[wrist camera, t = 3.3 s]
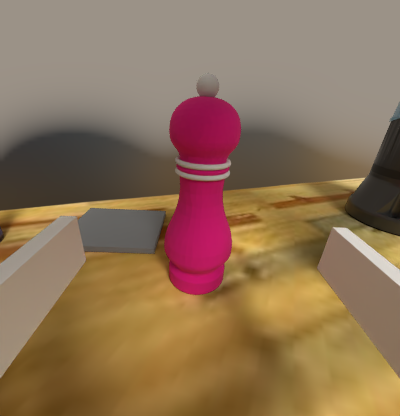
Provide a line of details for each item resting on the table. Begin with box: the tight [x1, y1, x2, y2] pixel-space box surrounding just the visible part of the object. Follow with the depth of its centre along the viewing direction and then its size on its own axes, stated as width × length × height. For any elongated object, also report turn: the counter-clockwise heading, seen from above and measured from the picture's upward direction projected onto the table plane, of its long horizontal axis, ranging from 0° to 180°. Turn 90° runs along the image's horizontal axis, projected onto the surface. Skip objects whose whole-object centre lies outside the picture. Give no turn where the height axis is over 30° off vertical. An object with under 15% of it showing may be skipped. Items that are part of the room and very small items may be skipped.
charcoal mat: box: [77, 208, 166, 254], centre depth 32 cm, size 13×11×1 cm
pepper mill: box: [164, 73, 241, 295], centre depth 20 cm, size 7×7×20 cm
